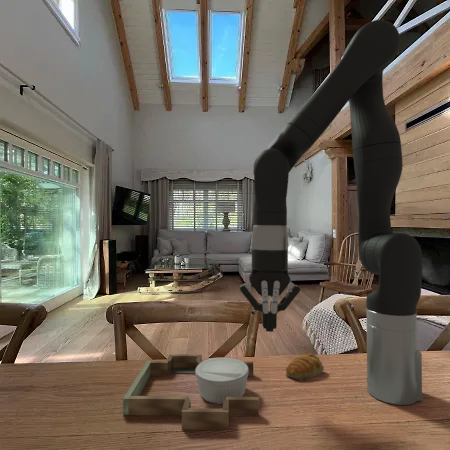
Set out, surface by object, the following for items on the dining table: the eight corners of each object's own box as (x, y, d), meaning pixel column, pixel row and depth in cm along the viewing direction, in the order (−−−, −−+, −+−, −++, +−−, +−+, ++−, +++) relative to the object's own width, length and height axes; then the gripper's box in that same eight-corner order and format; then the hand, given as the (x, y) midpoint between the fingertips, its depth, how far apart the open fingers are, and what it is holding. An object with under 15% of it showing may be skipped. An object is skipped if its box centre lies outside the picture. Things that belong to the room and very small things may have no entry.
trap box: (252, 367, 80) (252, 354, 80) (260, 430, 55) (260, 412, 55) (151, 366, 80) (151, 354, 80) (115, 428, 55) (115, 410, 56)
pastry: (302, 385, 71) (301, 367, 71) (278, 375, 76) (278, 358, 76) (325, 372, 77) (325, 356, 77) (302, 364, 82) (302, 349, 82)
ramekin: (205, 413, 60) (205, 384, 60) (189, 386, 71) (188, 361, 71) (258, 400, 64) (258, 374, 64) (235, 377, 75) (235, 354, 75)
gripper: (297, 246, 71) (297, 325, 71) (237, 246, 71) (237, 324, 71) (305, 248, 64) (305, 337, 63) (238, 248, 64) (237, 336, 64)
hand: (269, 330), depth 67 cm, fingers closed
